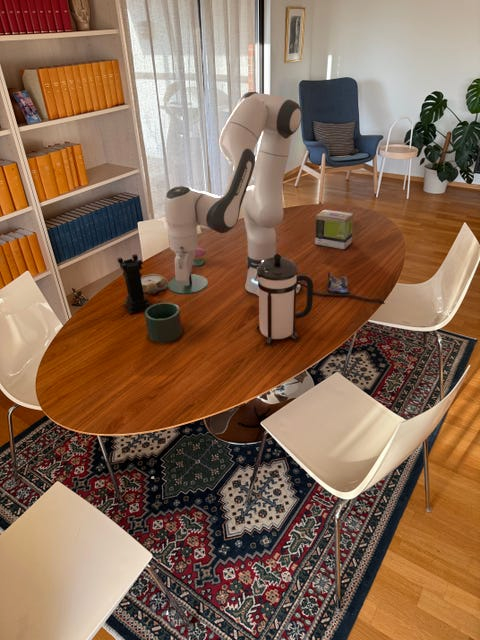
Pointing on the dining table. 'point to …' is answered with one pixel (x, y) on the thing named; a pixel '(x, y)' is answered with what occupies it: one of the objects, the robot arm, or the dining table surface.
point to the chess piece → (134, 285)
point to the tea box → (334, 229)
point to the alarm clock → (153, 283)
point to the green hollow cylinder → (163, 322)
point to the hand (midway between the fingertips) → (187, 281)
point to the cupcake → (199, 256)
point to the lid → (194, 287)
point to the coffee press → (280, 297)
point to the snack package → (337, 284)
